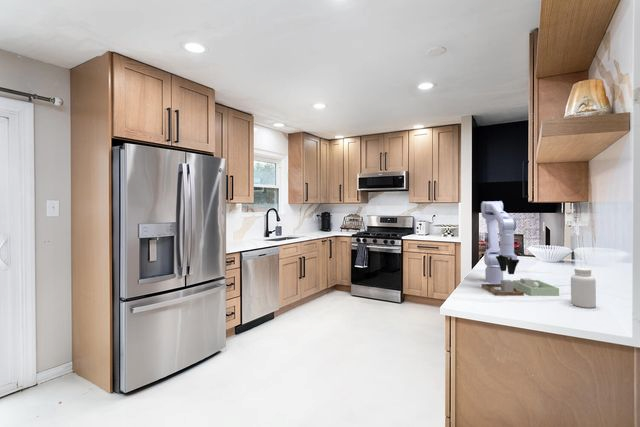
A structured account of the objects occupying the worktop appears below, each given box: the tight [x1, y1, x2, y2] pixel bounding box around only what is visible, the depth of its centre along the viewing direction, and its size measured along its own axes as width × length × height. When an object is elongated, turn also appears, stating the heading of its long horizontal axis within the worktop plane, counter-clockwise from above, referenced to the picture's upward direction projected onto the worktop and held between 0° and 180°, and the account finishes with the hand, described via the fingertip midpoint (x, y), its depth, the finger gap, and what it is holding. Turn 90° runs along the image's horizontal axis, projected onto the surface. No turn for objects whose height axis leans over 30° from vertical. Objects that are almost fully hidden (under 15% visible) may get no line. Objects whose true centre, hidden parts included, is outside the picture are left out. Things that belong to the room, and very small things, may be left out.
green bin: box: [512, 279, 560, 297], centre depth 155 cm, size 16×12×4 cm
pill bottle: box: [570, 267, 597, 309], centre depth 134 cm, size 8×8×15 cm
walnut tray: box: [481, 283, 525, 297], centre depth 156 cm, size 16×12×2 cm
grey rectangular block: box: [519, 277, 535, 288], centre depth 157 cm, size 4×4×5 cm
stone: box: [500, 279, 514, 292], centre depth 156 cm, size 4×4×5 cm
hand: (507, 272), depth 155 cm, fingers open, 7 cm apart
